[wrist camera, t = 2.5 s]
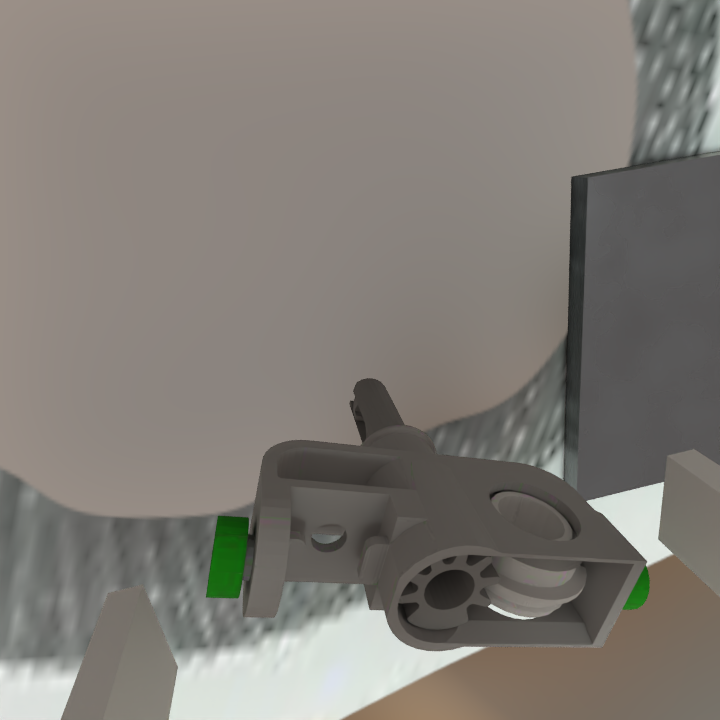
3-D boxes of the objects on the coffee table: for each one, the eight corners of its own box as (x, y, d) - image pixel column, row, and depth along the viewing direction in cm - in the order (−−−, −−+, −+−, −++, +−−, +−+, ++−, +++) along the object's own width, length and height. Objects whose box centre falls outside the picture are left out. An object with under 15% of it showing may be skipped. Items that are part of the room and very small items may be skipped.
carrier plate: (571, 176, 18) (587, 177, 17) (839, 130, 19) (868, 128, 18) (564, 489, 23) (576, 503, 22) (771, 439, 24) (791, 450, 23)
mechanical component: (242, 342, 18) (216, 531, 9) (495, 380, 20) (680, 559, 11) (232, 414, 19) (197, 651, 10) (473, 441, 21) (627, 653, 12)
